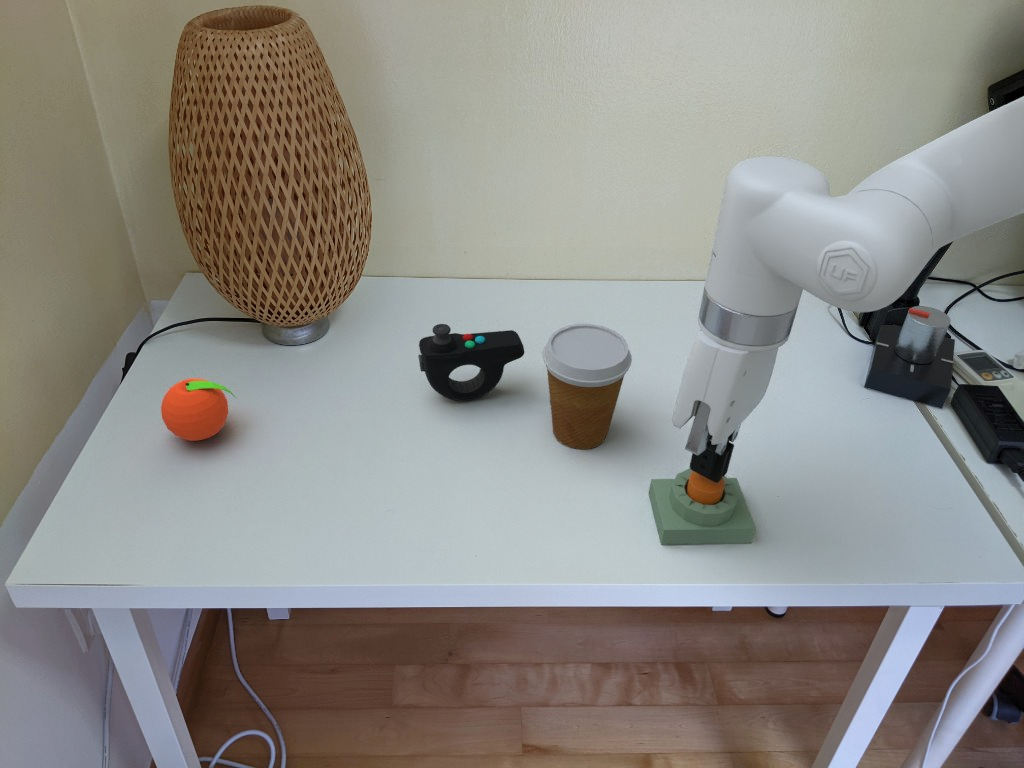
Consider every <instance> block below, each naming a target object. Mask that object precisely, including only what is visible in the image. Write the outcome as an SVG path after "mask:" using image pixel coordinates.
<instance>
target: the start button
mask: <svg viewBox="0 0 1024 768" xmlns="http://www.w3.org/2000/svg"><path fill="white" fill-rule="evenodd" d="M724 486H725V481H724V479H723V477H722V479H721V480H720V481H719V482H718V483H716V482H713V481H711V480H710V479H708V478H706V477H704V476H702V475H700V474H698V473H696V472H694V471H693V472H692V473H691V474H690V477H689V482H688V487H687V493H688V495H689V497H690V498H691V499H692V500H693V501H695V502H698V503H701V504H703V505H713V504H716V503H717V502H719V501H720V500H721V497H722V494H723V490H724Z"/></svg>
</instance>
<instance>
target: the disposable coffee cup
mask: <svg viewBox="0 0 1024 768" xmlns="http://www.w3.org/2000/svg"><path fill="white" fill-rule="evenodd" d="M542 359H543V363H544V365H545V368H546V371H547V381H548V383H547V384H548V393H549V402H550V403H549V404H550V411H551V412H550V415H551V423H552V433H553V436H554V438H555V439H556V441H558V442H559V443H560V444H562V445H563V446H566V447H568V448H570V449H575V450H590V449H595V448H596V447H597V448H598V447H599V446H601V445H602V444H603V443H605V441H606V439H607V437H608V435H609V434H608V433H609V430H610V426H611V423H612V419H613V416H614V413H615V409H616V406H617V403H618V399H619V396H620V392H621V389H622V385H623V381H624V378H625V375H626V374H627V372H628V371H629V369H630V368H631V366H632V361H633V357H632V353H631V351H630V348H629V344H628V342H627V340H626V339H625V338H624V337H623V336H622V335H621V334H620V333H618V332H617V331H616V330H613V329H611V328H609V327H607V326H606V327H605V326H604V325H599V324H592V323H575V324H570V325H565V326H562V327H560V328H558V329H556V330H555V331H554V332H552V334H551V335H550V336H549V338H548V341H547V342H546V344H545V345H544V347H543V348H542Z"/></svg>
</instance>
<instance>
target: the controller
mask: <svg viewBox="0 0 1024 768" xmlns="http://www.w3.org/2000/svg"><path fill="white" fill-rule="evenodd" d="M451 331H452V329H451V327H450V326H449V325H448V324H445V323H438V324H436V325H434V326H433V327H432V333H433V334H434V335H429V336H425V337H422V338H421V339H420V340H419V342H418V347H419V353H420V354H418V361H419V362H418V363H419V369H420V372H421V373H422V372H424V374H425V377H426V380H427V381H428V383H429V385H430V387H431V388H432V389H433V390H434V391H435V392H436V393H438V394H439V395H440V396H442V397H444V398H447V399H450V400H455V401H471V400H475V399H479V398H481V397H483V396H485V395H487V394H488V393H490V392H491V391H492V390H494V389H495V388H496V387H497V385H498V384H499V383H500V381H501V379H502V377H503V374H504V369H505V366H506V365H507V364H509V363H512V362H514V361H516V360H518V359H521V358H523V356H524V355H525V347H524V344H523V341H522V340H521V337H520V335H519V334H518V332H517V331H515V330H514V329H512V330H511V329H510V330H497V331H487V332H486V331H484V332H475V333H472V332H471V333H457V332H454V333H451ZM463 366H474V367H477V368H479V372H478V373H477V374H476V375H475V376H474V377H472V378H471V379H468V380H463V381H462V380H461V381H460V380H455V379H453V378H451V377H450V376H451V373H452V372H453V371H455V370H456V369H458V368H460V367H463Z"/></svg>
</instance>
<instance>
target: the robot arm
mask: <svg viewBox="0 0 1024 768" xmlns="http://www.w3.org/2000/svg"><path fill="white" fill-rule="evenodd" d="M830 191H831V190H830V183H829V181H828V178H827V176H826V175H825V174H824V173H823V172H822V171H821V170H820V168H819V169H818V168H817V167H816V166H815V165H812V164H810V163H807V162H805V161H802V160H799V159H795V158H791V157H785V156H778V155H763V156H762V155H761V156H753V157H749V158H747V159H743V160H742V161H740V162H738V163H736V164H735V166H734V167H732V169H731V170H730V171H729V173H728V174H727V177H726V179H725V182H724V187H723V190H722V192H723V193H722V196H721V201H720V206H719V211H718V216H717V222H716V227H715V231H714V237H713V241H712V247H711V251H710V256H709V262H708V267H707V271H706V277H705V281H704V287H703V291H702V297H701V302H700V306H699V311H698V312H699V313H698V316H697V324H698V327H699V329H700V330H698V332H697V334H696V336H695V339H694V341H693V344H692V346H691V348H690V352H689V355H688V358H687V361H686V363H685V366H684V369H683V374H682V376H681V381H680V385H679V388H678V391H677V396H676V400H675V404H674V409H673V414H672V418H671V421H672V425H673V426H674V427H675V428H679V429H682V428H683V427H684V426H685V425H686V424H687V423H688V422H689V421H691V419H693V417H694V419H693V422H692V425H691V428H690V432H689V434H688V437H687V440H686V444H685V447H684V450H685V451H687V452H690V453H691V458H690V462H689V468H690V469H691V470H692V471H694V472H696V473H698V474H700V475H702V476H704V477H706V478H708V479H710V480H711V481H713V482H716V483H718V482H719V481H720V480H721V479H722V477H724V476H725V477H726V475H727V473H728V470H729V466H730V463H731V460H732V455H733V453H734V449H735V444H734V442H736V439H737V438H738V435H739V433H740V429H741V427H742V423H743V422H744V421H745V420H746V419H747V418H748V417H749V416H750V415H751V414H752V412H753V411H755V409H756V408H757V407H758V406H759V404H760V403H761V402H762V400H763V398H764V397H765V395H766V394H767V391H768V388H769V385H770V382H771V379H772V375H773V372H774V368H775V364H776V360H777V356H778V351H779V348H781V347H782V346H783V345H785V344H786V343H787V342H788V341H789V339H790V335H791V331H792V328H793V325H794V322H795V318H796V315H797V311H798V308H799V304H800V302H801V298H802V294H803V291H806V292H807V293H809V294H810V295H812V296H813V297H815V298H817V299H818V300H821V301H822V302H824V303H826V304H828V305H830V306H833V307H835V308H837V309H840V310H844V311H847V312H852V313H870V312H876V311H879V310H881V309H884V308H887V307H888V306H890V305H892V304H893V303H894V302H896V301H898V299H900V298H901V297H902V296H903V295H904V294H905V292H906V291H907V290H908V289H909V287H910V286H911V285H912V284H913V283H914V282H915V280H916V279H917V277H918V276H919V275H920V273H922V271H923V270H924V268H925V267H926V266H927V264H928V263H929V261H931V259H932V257H933V256H934V255H935V254H936V253H937V251H939V249H941V248H942V247H944V246H947V245H949V244H950V243H953V242H955V241H957V240H959V239H962V238H964V237H966V236H969V235H971V234H974V233H976V232H978V231H981V230H983V229H986V228H989V227H990V226H993V225H995V224H998V223H1000V222H1003V221H1006V220H1008V219H1011V218H1014V217H1016V216H1019V215H1022V214H1024V95H1023V96H1021V97H1019V98H1017V99H1015V100H1013V101H1010V102H1008V103H1007V104H1004V105H1002V106H1000V107H997V108H996V109H993V110H991V111H989V112H987V113H985V114H983V115H981V116H979V117H977V118H975V119H973V120H971V121H968V122H967V123H964V124H963V125H960V126H958V127H957V128H955V129H953V130H951V131H949V132H947V133H946V134H943V135H941V136H940V137H937V138H936V139H934V140H931V141H930V142H928V143H926V144H924V145H922V146H920V147H918V148H917V149H914V150H912V151H910V152H908V153H907V154H906V155H903V156H901V157H899V158H897V159H896V160H894V161H892V162H890V163H888V164H886V165H885V166H883V167H881V168H880V169H878V170H876V171H874V172H873V173H872V174H870V175H869V176H867V177H866V178H865V179H863V180H861V182H860V183H858V184H857V185H856V186H855V187H853V188H852V189H851V190H850V191H848V193H847V194H845V195H844V194H843V195H839V196H831V195H830V193H831V192H830Z"/></svg>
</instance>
